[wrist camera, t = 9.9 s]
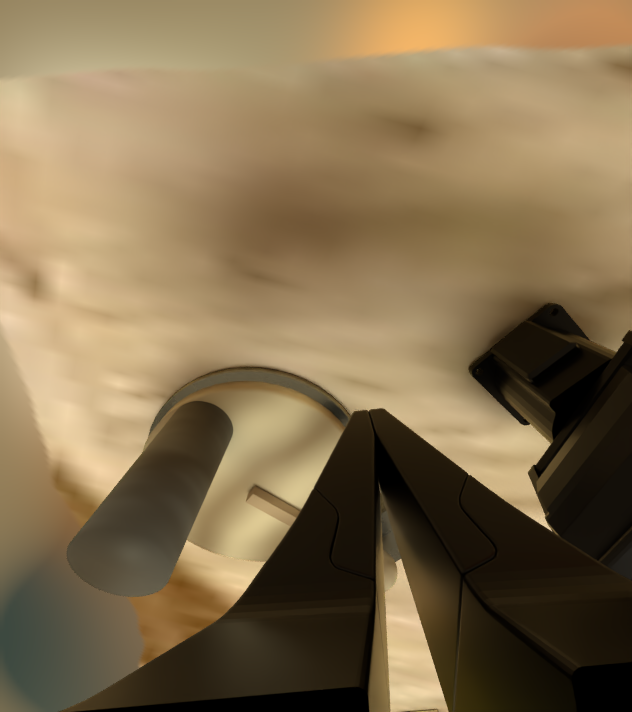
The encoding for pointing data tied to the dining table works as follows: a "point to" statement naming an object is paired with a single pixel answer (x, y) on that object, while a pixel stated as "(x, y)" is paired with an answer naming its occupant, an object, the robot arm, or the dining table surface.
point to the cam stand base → (292, 383)
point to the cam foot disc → (210, 486)
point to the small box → (427, 711)
